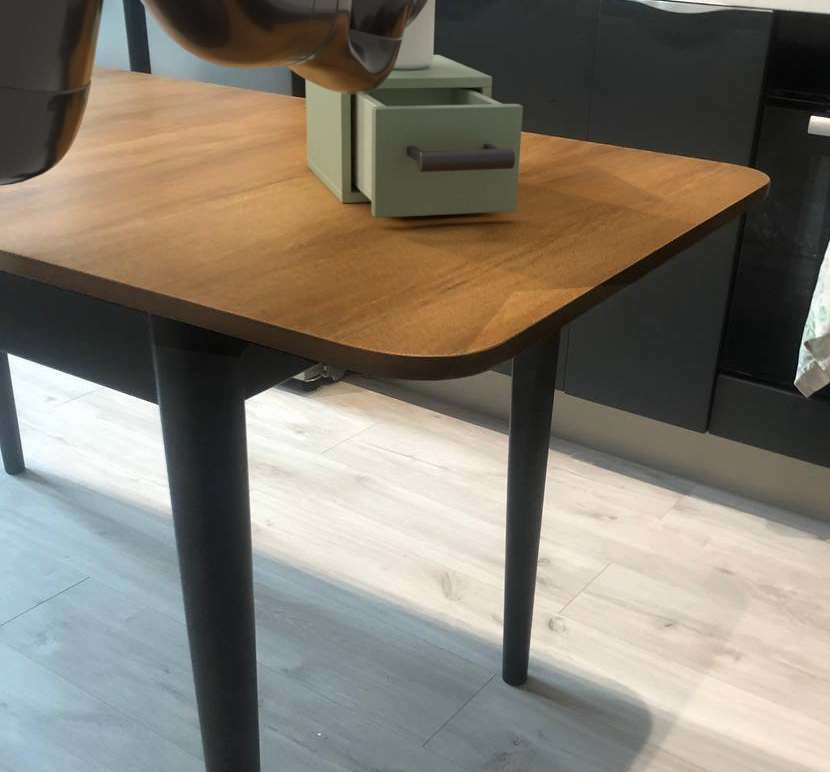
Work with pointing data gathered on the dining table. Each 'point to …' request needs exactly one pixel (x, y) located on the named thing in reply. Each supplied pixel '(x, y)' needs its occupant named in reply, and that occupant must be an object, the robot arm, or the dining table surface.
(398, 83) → the cabinet
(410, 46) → the can
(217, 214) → the dining table surface
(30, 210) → the dining table surface
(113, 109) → the dining table surface
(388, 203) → the drawer
